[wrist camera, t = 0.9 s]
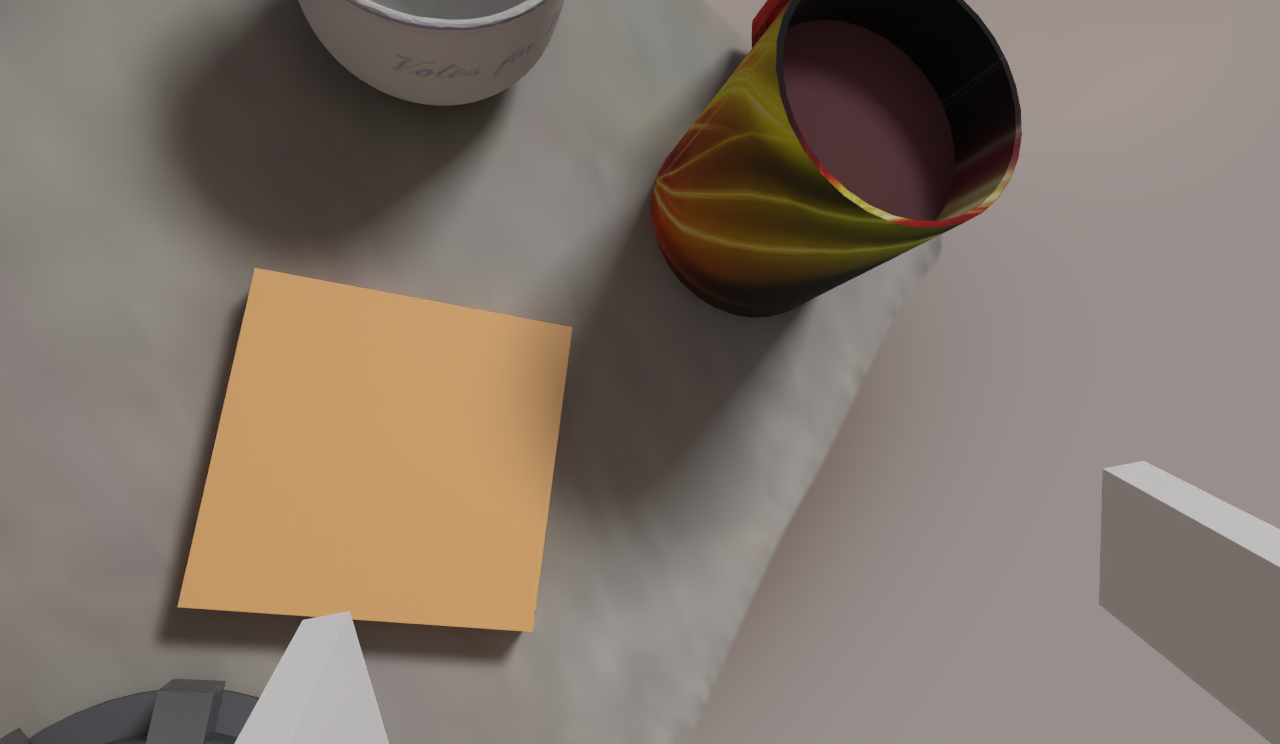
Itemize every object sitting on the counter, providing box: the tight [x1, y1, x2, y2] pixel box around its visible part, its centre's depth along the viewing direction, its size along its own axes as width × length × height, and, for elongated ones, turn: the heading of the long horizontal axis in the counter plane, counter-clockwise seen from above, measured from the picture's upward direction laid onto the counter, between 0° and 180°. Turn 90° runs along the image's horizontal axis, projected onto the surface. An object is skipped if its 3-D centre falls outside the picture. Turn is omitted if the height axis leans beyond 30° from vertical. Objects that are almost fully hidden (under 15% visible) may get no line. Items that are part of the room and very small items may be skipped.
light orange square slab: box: [177, 268, 573, 632], centre depth 29 cm, size 12×12×2 cm
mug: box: [652, 0, 1022, 317], centre depth 31 cm, size 10×14×12 cm
